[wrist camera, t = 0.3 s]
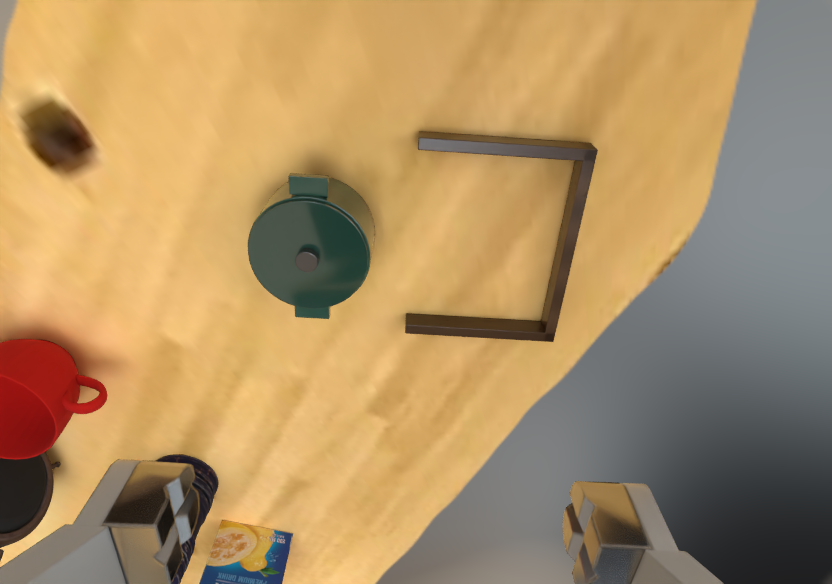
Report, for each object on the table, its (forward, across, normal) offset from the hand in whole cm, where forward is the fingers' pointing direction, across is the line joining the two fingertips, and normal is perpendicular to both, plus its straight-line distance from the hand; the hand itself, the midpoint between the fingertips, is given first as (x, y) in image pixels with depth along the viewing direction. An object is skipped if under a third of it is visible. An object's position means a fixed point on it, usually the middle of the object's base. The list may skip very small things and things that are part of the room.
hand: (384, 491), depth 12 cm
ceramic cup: (+47, +41, +34) cm, 71 cm away
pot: (+47, +9, +14) cm, 50 cm away
